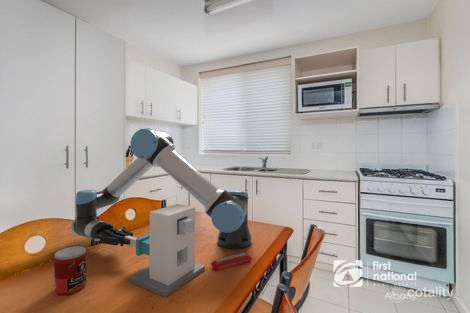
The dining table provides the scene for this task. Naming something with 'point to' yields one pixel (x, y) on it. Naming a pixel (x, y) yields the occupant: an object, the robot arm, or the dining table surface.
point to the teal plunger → (143, 245)
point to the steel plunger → (185, 226)
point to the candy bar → (230, 261)
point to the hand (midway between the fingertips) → (137, 243)
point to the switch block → (169, 252)
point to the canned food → (70, 270)
